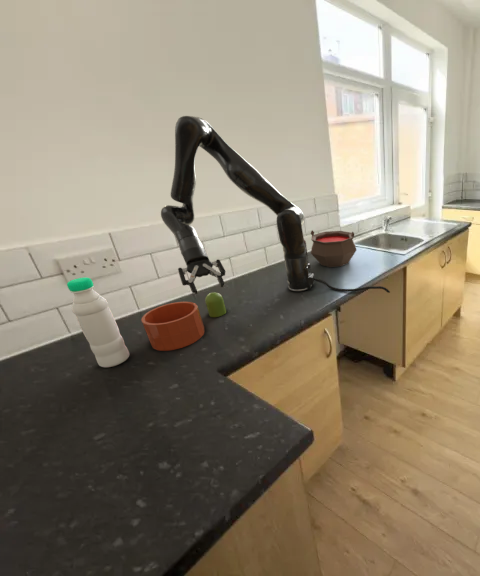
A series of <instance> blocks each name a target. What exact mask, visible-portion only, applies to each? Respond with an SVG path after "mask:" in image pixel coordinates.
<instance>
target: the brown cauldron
mask: <svg viewBox="0 0 480 576" xmlns="http://www.w3.org/2000/svg"><path fill="white" fill-rule="evenodd" d="M310 235H311V239H310V240H311V241H312V245H311V249H310V254H311V255H312V256H313V257H314V258H315V260H316V261H317V262H318V263H319V264H320V266H324V267H327V268H336V267H337V268H338V267H343V266H345V265H347V264H349V263H350V261H351V260H352V258H353V256H354V255H355V253H356V252H357V247H356V244H355V242H354V240H353V239H354V237H355V232H354V231H352V232H350V231H344V230H330V231H321V232H318V233H315V231H314V230H313V229H312V230H310Z"/></svg>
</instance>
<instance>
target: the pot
mask: <svg viewBox="0 0 480 576" xmlns="http://www.w3.org/2000/svg"><path fill="white" fill-rule="evenodd" d="M140 321H141V323H142V325H143V328H144V331H145V333H146V336H147V338H148V341H149V344H150V345H151V347H152V349H154V350H156V351H160V352H167V351H175V350H179V349H182V348H185V347H188V346H190V345H192V344H194V343H196V342H197V341H199V340H200V339H201V338H202V337H203V336H204V334H205V326H204V323H203V319H202V315H201V313H200V310H199V305H197V303H195V302H192V301H176V302H171V303H170V302H169V303H166V304H163V305H160V306H157V307H154V308H153V309H151V310H149V311H147V312H146V313H145V314H143V315H142V316H141V319H140Z"/></svg>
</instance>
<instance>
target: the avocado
mask: <svg viewBox="0 0 480 576" xmlns="http://www.w3.org/2000/svg"><path fill="white" fill-rule="evenodd" d="M204 302H205V306H206V308H207V313H208V316H209V317H210V318H219V317H222V316H224V315H225V314H226V313H227V308H226V306H225V301H224V297H223V295H222V294H220V293H219V292H216V291H212V292H210V293H208V294H207V295H206V296H205V299H204Z"/></svg>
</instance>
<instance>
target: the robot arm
mask: <svg viewBox="0 0 480 576" xmlns="http://www.w3.org/2000/svg"><path fill="white" fill-rule="evenodd" d="M174 147H175V148H174V149H175V150H174V170H173V178H172V183H171V188H170V198H171V199H172V200H173V201H175V202H178V203H180V204H182V205H181V206H179V205H169V204H168V205H167V204H166V205H164V206H163V207H162V208H161V210H160V217H161V219H162V221H163V223H164V225H165V226H166V227H167V228H168V229H169V231H170V232H172V234H173V235H174V237H175V239H176V241H177V245H178V247H179V251H180V254H181V256H182V257H183V260H184V263H185V266H186V267H183V268H182V267H178V268H177V272H178V276H179V278H180V282H181V285H182V286H189V288H190V291H191V293H192V294H194V295H197V294H198V289H197V287H196V284H195V281H196V279H197V278H202V277H206V276H209V275H210V276H212V277H215V278H217V282H218V284H219V286H220V288H223V287H224V285H225V281H224V279H223V277H225V276H226V269H225V268H224V265H223V264H222V262H221V260H220V259H216V261H215V260H214V261H211V260H210V258H209V256H208V254H207V251H206V249H205V247H204V245H203V242H202V241H201V239H200V237H199V235H198V233H197V230H196V229H195V227H194V226H193V225H192V224H193V223H194V221H195V210H194V195H195V190H196V185H197V175H196V170H195V169H196V168H195V167H196V166H195V160H196V155H197V152H198V149H199V148H201V149H203V150H204V151H205V152H206V153H208V154H209V155H210V156H211V157H212V158H213V159H215V160H216V162H217V163H218V165H219V166H220V167H221V169H222V170H223V172H224V174H225V175H226V176H227V178H228V179H229V181H231V183H232V184H234V185H235V186H236V187H237V188H238V189H239V190H241V191H242V192H243V193H244V194H246V196H248V197H250V198H251V199H254V200H255V201H257V202H259V203H261V204H262V205H264V206H266V207H267V208H268V209H269V210H270V211H272V212H273V213H274V214H275V215H276V228H277V234H278V238H279V239H278V240H279V242H280V245H281V247H282V252H283V259H284V266H285V272H286V278H287V279H286V282H287V285H288V290H289V291H290V292H294V293H300V292H305V291H311V289H312V287H313V285H314V284H315V282H318V283H320V284H323V285H325V286H326V287H327V288H328V289H331V290H333V291H337V292H359V291H364V290H384V291H385V292H386V293H388V294H389V293H391V291H390V290H389V289H388V288H387V287H385V286H382V285H381V286H380V285H377V286H376V285H375V286H370V285H369V286H364V287H358V288H337V287H335V286H331V285H330V284H329V283H328V282H326V281H324V280H323V279H319V278H316V277H315V273H312V269H311V264H310V263H309V257H308V256H309V255H308V248H307V247H308V246H307V242H306V239H305V238H304V232H303V225H304V223H305V215H304V213H303V211H302V210H301V209H300V208H299V207H298V206H297V205H295V204H294V203H292V202H291V201H290V200H289V199H287V198H286V196H284V195H283V194H281V193H280V192H279V190H277V189H276V188H275V186H273V185H272V183H271V182H269V181H268V180H267V179H266V178H265V177H264V176H263V175H262V174H261V173H260V172H259V171H258V170H257V169H256V168H255V167H254V166H253V165H252V164H251V163H249V162H248V161H247V160H246V159H245V158H244V157H243V156H241V154H240V153H238V152H237V151H236V150H235V149H233V148H232V147H231V146H230V145H229V144H228V143H227V142H226V141H225V140H224V138H222V136H221V135H220V134H219V132H218V131H216V130H215V129H214V127H213V126H212V125H211V124H210V123H209V122H208V121H207V120H205V119H203V118H201V117H199V116H192V115H183V116H180V117H179V118H178V119H177V120H176V122H175V127H174ZM213 267H215V268H217V269H218V270H216V269H215V268H213ZM187 272H188V273H189V274H190V275H189V276H190V277H189V278H188V279H186V274H187Z"/></svg>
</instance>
